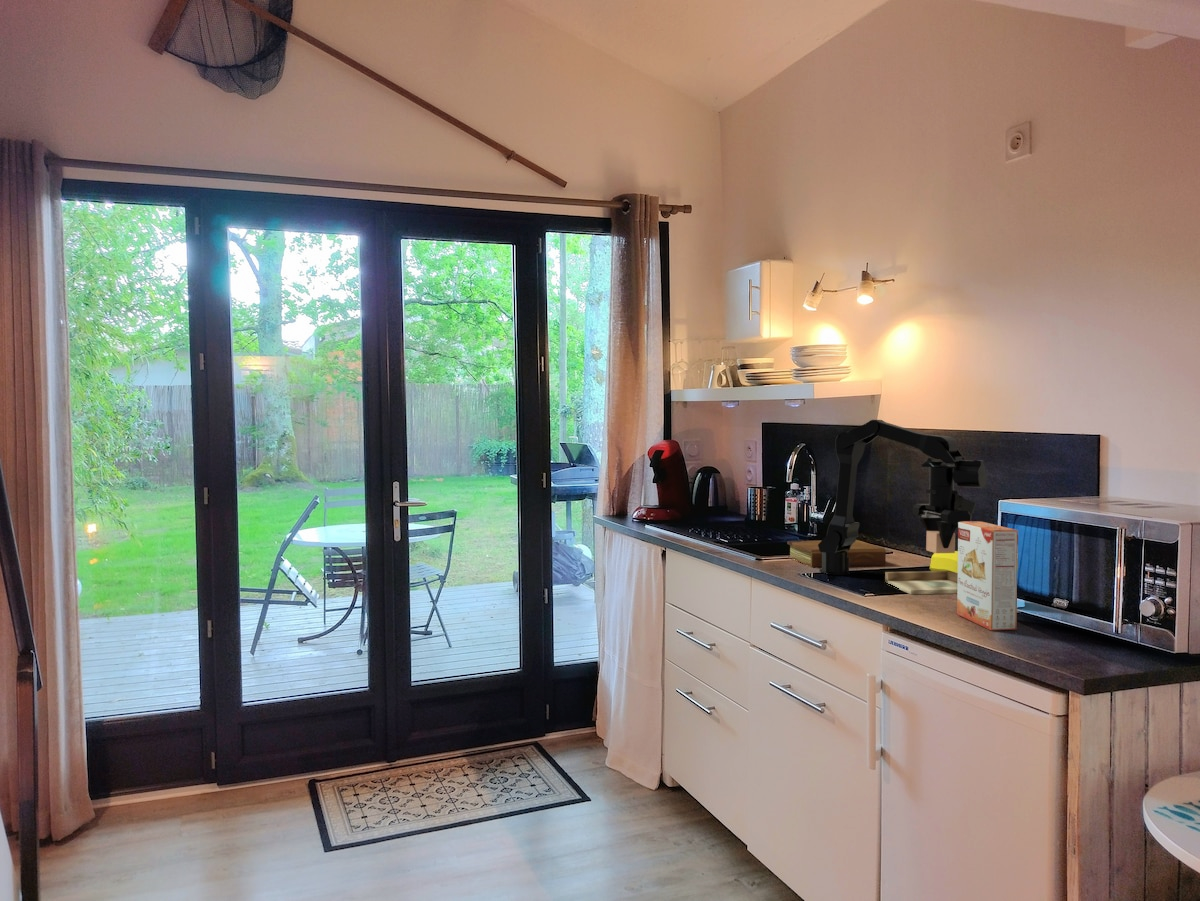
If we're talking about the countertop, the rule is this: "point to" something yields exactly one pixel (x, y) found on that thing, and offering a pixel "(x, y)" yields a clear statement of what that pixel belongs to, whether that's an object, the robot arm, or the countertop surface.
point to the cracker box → (987, 575)
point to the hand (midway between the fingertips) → (940, 546)
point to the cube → (938, 543)
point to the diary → (857, 554)
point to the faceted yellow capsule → (944, 562)
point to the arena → (924, 581)
